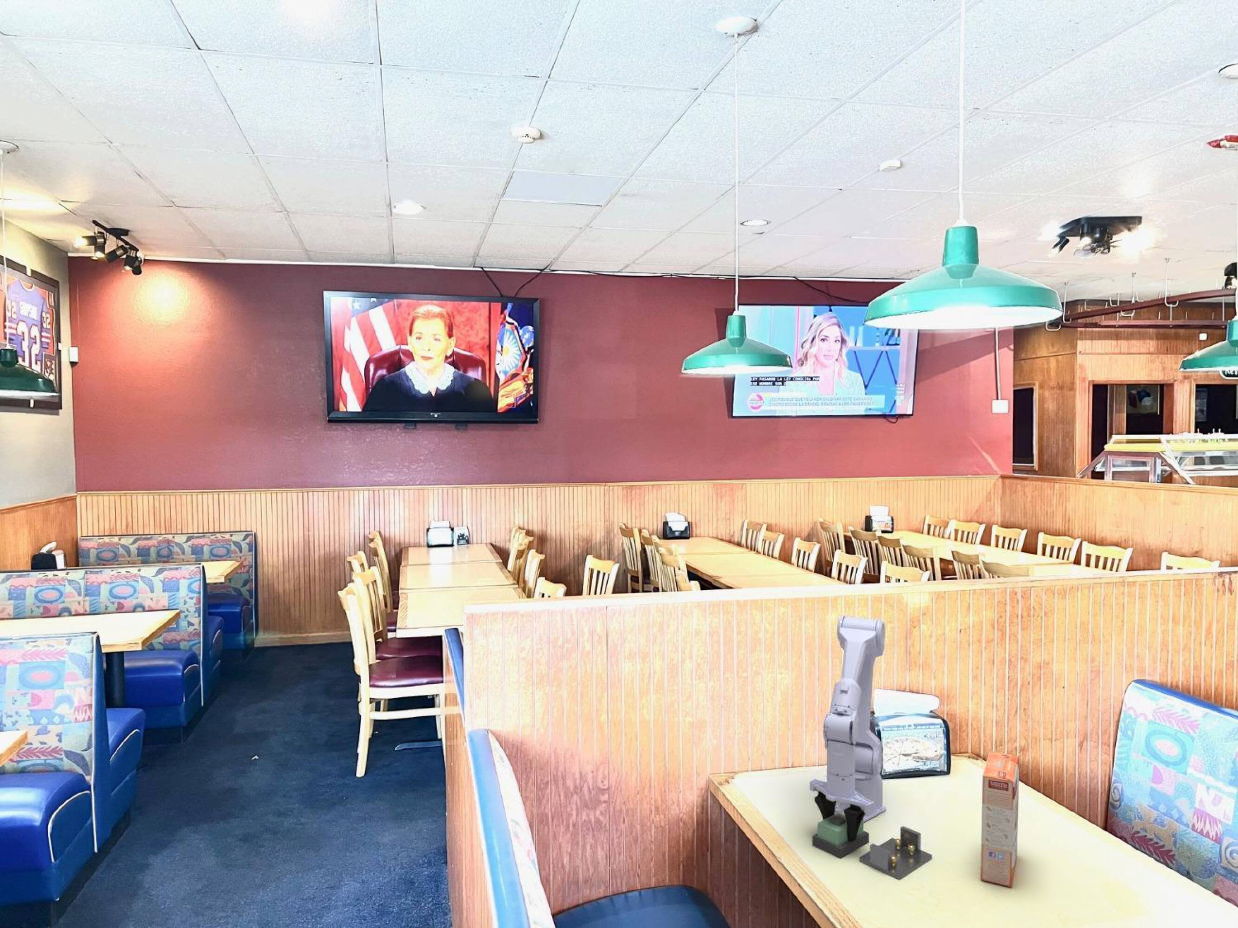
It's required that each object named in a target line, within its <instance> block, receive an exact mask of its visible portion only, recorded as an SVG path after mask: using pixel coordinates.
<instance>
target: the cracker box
mask: <svg viewBox="0 0 1238 928" xmlns="http://www.w3.org/2000/svg"><path fill="white" fill-rule="evenodd" d="M981 782H982V784H981V785H982V787H981V788H982V789H981V790H982V791H981V794H982V795H981V833H980V835H981V836H980V837H981V842H980V844H981V846H980V880H981V881H985V882H988V883H993V884H997V885H1001V886H1003V887H1004V886H1005V887H1008V888H1012V887H1013V882H1014V881H1013V879H1014V874H1015V867H1016V862H1017V855H1018V833H1019V832H1018V829H1019V828H1018V827H1019V794H1020V793H1019V791H1020V790H1019V789H1020V788H1019V786H1020V785H1019V784H1020V756H1018V755H1015V754H1010V753H1003V752H997V751H993V750H992V751H991V750H990V751H989V752H988V756H987V759H986V762H985V765H984V770H983V773H982V781H981Z"/></svg>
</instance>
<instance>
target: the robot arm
mask: <svg viewBox="0 0 1238 928" xmlns="http://www.w3.org/2000/svg"><path fill="white" fill-rule="evenodd" d="M836 633H837V634H836V636H837V640H838V642H839V646H840V648H841V649H842V650H843V657H842V668H841V669H842V670H841V677H840V678H841V679H840V680H839V681H837V682H836V683H834V687H833V693H832V697H831V702H830V707H829V712H828V713H829V714H828V713H826V714H825V716H824V719H823V725H822V731H823V732H822V734H823V735H822V736H823V740H824V749H825V750H826V781H823V780H819V779H817V778H815V779H813V780H811V781H809V791H811V792H817V795H816V796H814V803H815V804H816V806H817V807H818V811H820V814H821V817H822V820H824V819H826V818H828V817H830V816H832V815H834V814H836V813H838V812H840V811H842V810H844V814H845V817H846V822H847V837H848V841H850V842H851V841H853V840H855V839H856V838H857V833H858V829H859V826H860V824H861V821H862V819H863V818H864V823H865V822H866V821H869V820H870V819H873V818H874V817H875V816H878V815H880V814H882V813H884V812H886V810H887V807H885V806H883V799H884V798H883V794H884V793H883V789H884V788H883V787H884V786H883V779H882V776H881V774H880V773H881V770H882V766H883V765H882V764H883V763H882V762H883V753H882V741H881V740H880V738H879V737H877V736H876V734H875V733H873V732H872V731H871V729H870V727H871V713H872V697H873V696H872V693H873V678H874V665H875V662H876V659H877V658H878V657H882V656H883V655H884V652H885V641H886V627H885V622H884V621H883V620H882V619H881V618H879V619H876V618H875V619H874V618H873V619H872V618H862V617H854V616H853V617H852V616H846V615H841V616H840V617H839V618H838V621H837V629H836ZM837 802H841V803H840V804H838V805H836V804H837Z"/></svg>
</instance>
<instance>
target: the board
mask: <svg viewBox="0 0 1238 928" xmlns="http://www.w3.org/2000/svg"><path fill="white" fill-rule="evenodd" d="M864 823H865V822H864V818H863V819H862V821H861V824H860V826H859V829H858V833H857V835H859V834H861V833H863V831H864V828H865V827H864V825H865V824H864ZM817 833H818V837H819V838H821V839H823V840H826V841H828V842H830V843H832V844H834V845H836V846H839V845H841V844H843V843H845V842H847V841H848V837H847V822H846V817H845V814H844V810H842V811H840V812H835V814H834V815H832V816H830V817H828V818H826V819H824V820H823V819H822V820H820V821H819V822H817Z"/></svg>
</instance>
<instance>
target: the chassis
mask: <svg viewBox="0 0 1238 928" xmlns="http://www.w3.org/2000/svg"><path fill="white" fill-rule="evenodd" d="M921 834H922V833H921V832H918V831H916V830H914V829H911V828H909V827H907V826H905V825H902V826H901V827H900V836H899V837H900V838H893V837H892V838H890V839H888V840H886V841H884V842H883V843H881V844H880V845H877V844H875V843H871V844H870V845H869V851H867V852H866V853H863V854H862V855H860V856H859V858H858V861H859V862H860V863H863V864H864V865H865V866H869V867H871V868H873V869H875V870H877V871H879V872H881V873H884V874H885V875H888V876H890V877H892V878H894V879H896V880H898V881H900V880H902V879H903V878H905V877H906V876H908V875H909V874H911V873H912V872H914V871H915V870H917V869H918V868H920V867H922V866H923V865H925V864H926V863H928V862H929V861H931V860H932V859H933V854H931V853H929V852H927V851H924V850H921V849H922V846H921V845H922V843H921V842H922V841H921V838H922V837H921V836H922V835H921Z"/></svg>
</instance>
